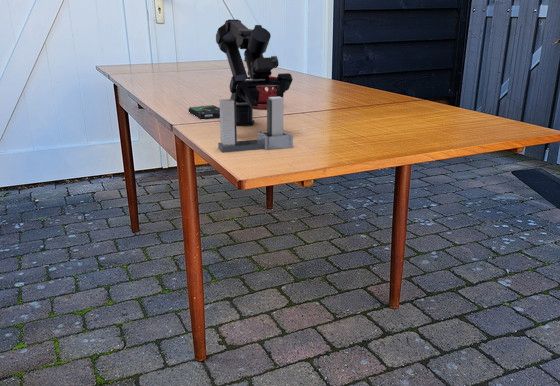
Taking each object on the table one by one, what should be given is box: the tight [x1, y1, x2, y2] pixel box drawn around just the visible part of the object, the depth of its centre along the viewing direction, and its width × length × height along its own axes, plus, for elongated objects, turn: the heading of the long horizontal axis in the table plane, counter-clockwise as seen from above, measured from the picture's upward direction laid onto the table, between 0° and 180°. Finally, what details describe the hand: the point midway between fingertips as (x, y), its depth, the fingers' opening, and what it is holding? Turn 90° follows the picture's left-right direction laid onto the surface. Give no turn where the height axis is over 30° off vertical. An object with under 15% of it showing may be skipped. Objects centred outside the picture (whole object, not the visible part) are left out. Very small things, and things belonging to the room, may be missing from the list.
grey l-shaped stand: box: [217, 98, 294, 153], centre depth 153 cm, size 7×20×14 cm, turn 110°
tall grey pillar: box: [266, 96, 284, 136], centre depth 155 cm, size 3×4×12 cm
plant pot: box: [253, 75, 277, 110], centre depth 213 cm, size 13×13×12 cm
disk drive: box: [188, 104, 220, 120], centre depth 199 cm, size 10×3×15 cm
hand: (267, 106), depth 160 cm, fingers open, 9 cm apart
